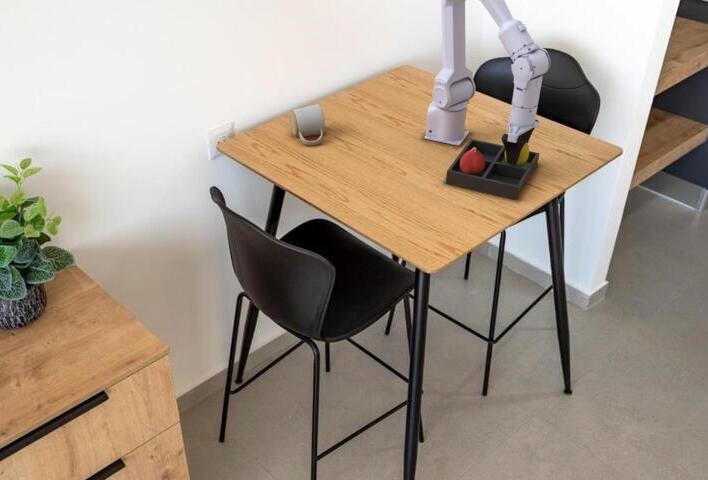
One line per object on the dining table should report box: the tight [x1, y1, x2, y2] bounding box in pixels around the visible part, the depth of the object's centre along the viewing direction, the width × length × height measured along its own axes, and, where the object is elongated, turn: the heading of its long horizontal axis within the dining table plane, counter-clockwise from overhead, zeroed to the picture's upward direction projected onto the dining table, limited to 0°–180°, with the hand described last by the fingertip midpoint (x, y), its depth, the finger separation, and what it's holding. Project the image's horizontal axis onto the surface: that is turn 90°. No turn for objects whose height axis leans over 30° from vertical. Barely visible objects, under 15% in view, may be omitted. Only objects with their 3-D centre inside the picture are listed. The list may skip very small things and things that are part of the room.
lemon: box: [505, 142, 530, 167], centre depth 182 cm, size 6×6×8 cm
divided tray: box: [445, 138, 541, 201], centre depth 182 cm, size 17×17×4 cm
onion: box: [460, 148, 485, 176], centre depth 179 cm, size 6×6×8 cm
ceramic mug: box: [289, 103, 326, 146], centre depth 199 cm, size 11×8×8 cm
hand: (516, 155), depth 182 cm, fingers open, 7 cm apart
